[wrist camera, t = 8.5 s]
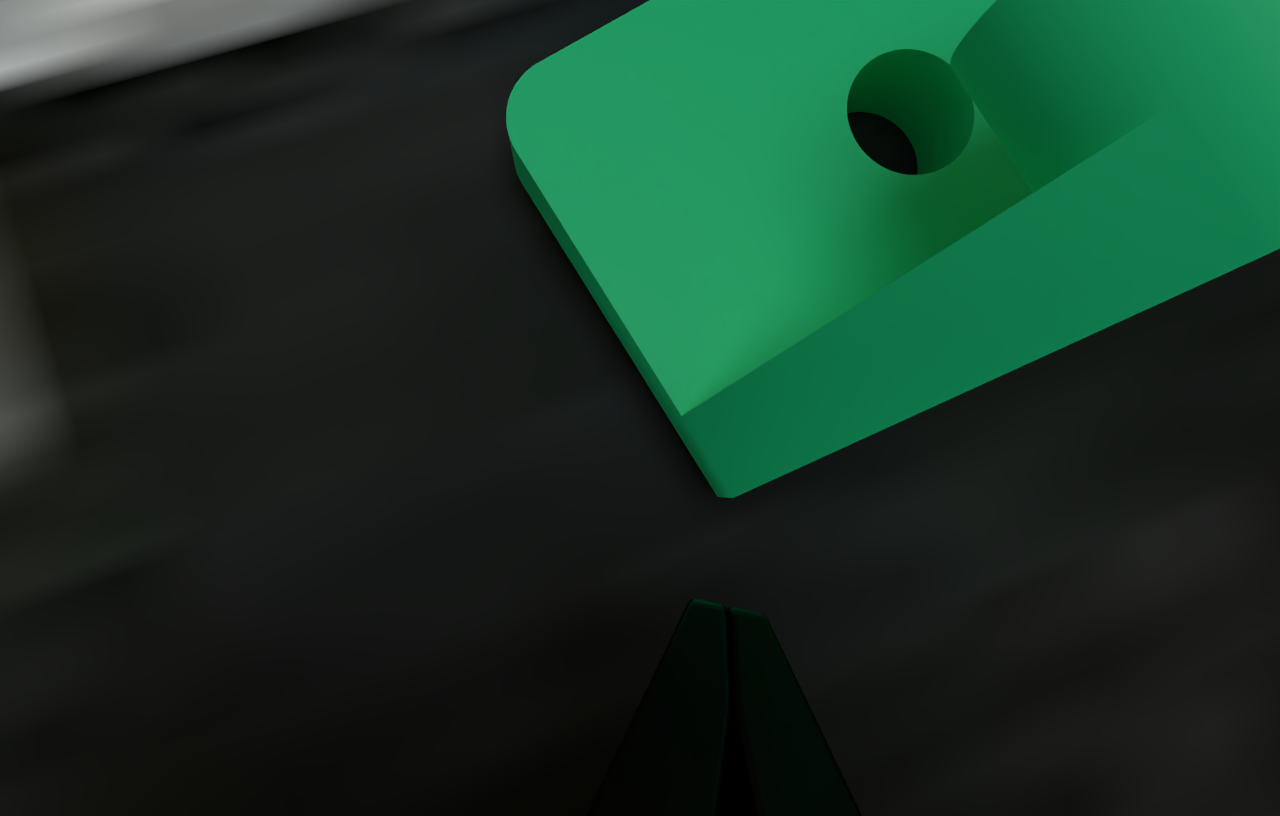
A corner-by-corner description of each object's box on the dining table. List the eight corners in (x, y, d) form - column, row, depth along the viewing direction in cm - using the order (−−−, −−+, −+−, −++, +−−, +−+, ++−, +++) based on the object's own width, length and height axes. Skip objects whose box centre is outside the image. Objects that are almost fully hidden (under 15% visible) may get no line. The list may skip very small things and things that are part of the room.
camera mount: (998, -130, 18) (1569, -969, 7) (1203, 180, 17) (2089, -253, 7) (496, 156, 16) (358, -384, 6) (708, 496, 16) (928, 513, 6)
